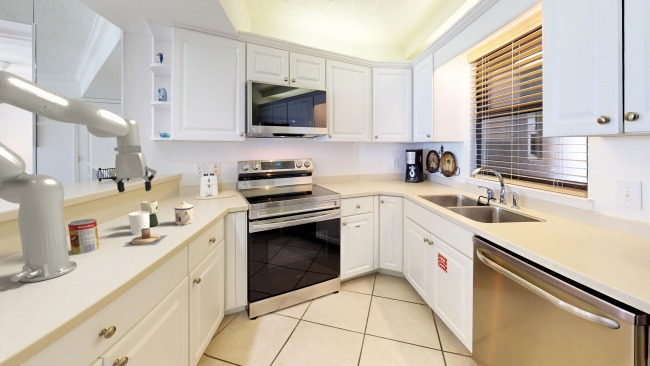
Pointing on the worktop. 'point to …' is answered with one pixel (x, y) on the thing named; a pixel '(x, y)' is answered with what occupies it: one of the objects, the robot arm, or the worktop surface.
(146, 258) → the worktop surface
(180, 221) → the teacup with lid
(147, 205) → the character mug
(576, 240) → the worktop surface
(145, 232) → the lid
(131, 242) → the mat
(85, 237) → the canned food
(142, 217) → the white cup
